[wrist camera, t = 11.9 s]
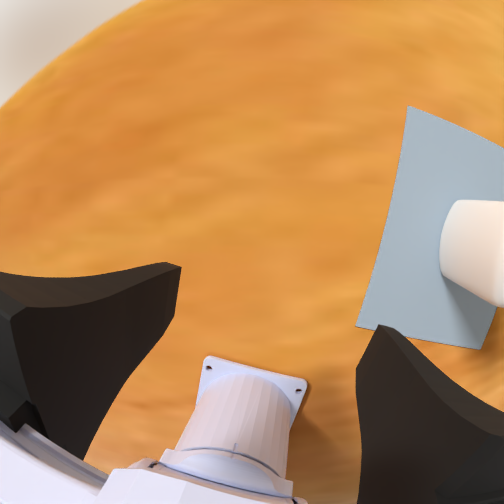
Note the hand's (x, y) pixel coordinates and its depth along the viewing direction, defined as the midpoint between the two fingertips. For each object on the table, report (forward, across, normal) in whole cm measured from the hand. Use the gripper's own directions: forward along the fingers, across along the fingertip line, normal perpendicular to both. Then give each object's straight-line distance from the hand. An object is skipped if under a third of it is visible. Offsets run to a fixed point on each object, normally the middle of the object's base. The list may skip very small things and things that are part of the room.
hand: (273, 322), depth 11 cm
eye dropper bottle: (+11, -12, -4) cm, 17 cm away
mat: (+11, -12, -4) cm, 17 cm away
